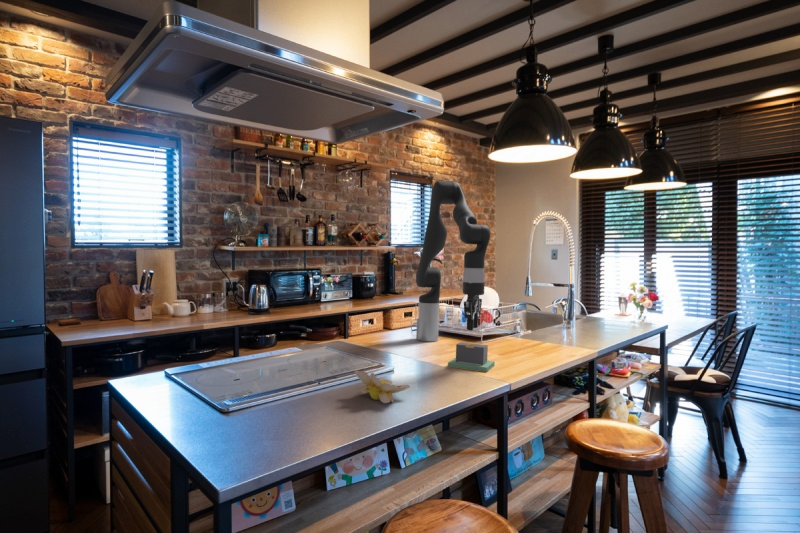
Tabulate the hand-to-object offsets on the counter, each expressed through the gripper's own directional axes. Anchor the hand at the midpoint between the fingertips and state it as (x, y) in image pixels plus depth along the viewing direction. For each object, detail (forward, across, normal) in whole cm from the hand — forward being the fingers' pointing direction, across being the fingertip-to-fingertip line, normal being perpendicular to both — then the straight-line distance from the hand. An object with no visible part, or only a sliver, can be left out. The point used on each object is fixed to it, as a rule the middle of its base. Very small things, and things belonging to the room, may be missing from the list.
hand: (472, 328), depth 159 cm
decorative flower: (+14, +47, -10) cm, 50 cm away
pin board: (+13, 0, 0) cm, 13 cm away
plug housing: (+12, 0, 0) cm, 12 cm away
